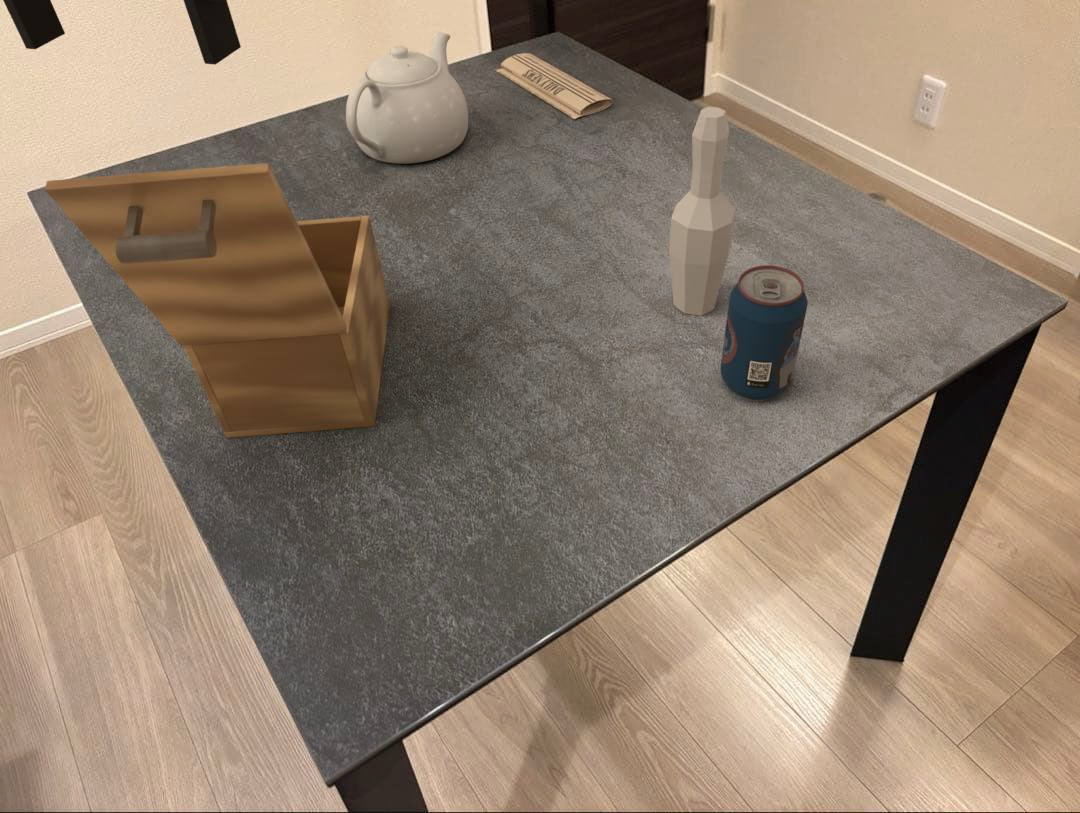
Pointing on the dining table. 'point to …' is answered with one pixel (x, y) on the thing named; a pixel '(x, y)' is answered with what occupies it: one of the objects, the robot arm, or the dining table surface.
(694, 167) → the faceted bottle
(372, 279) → the chest
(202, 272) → the lid
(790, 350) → the soda can
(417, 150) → the teapot
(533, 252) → the dining table surface
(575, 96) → the newspaper
